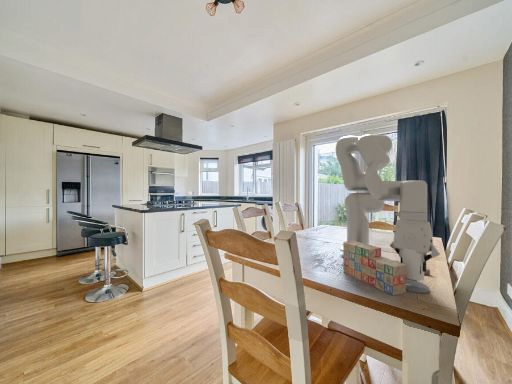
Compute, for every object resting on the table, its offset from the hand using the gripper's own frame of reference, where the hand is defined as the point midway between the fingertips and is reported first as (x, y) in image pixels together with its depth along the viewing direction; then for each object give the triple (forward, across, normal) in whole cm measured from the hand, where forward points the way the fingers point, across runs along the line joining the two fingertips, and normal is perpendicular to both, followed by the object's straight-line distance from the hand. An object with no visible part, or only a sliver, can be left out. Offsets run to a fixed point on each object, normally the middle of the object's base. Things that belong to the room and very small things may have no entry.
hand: (412, 270), depth 72 cm
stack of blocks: (+6, -11, -7) cm, 14 cm away
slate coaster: (+6, 0, 0) cm, 6 cm away
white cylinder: (+3, 0, 0) cm, 3 cm away
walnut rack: (+6, -7, +12) cm, 15 cm away
